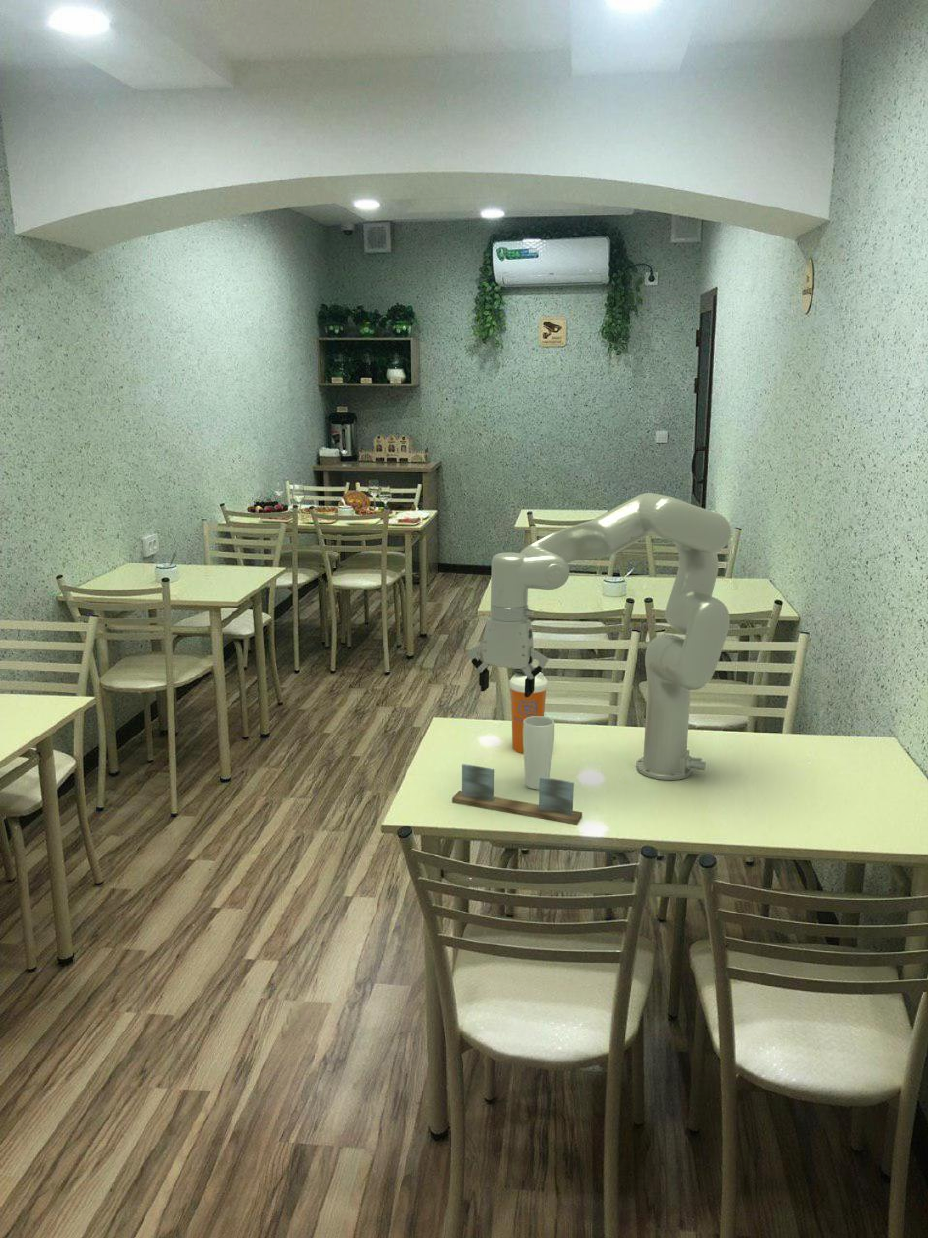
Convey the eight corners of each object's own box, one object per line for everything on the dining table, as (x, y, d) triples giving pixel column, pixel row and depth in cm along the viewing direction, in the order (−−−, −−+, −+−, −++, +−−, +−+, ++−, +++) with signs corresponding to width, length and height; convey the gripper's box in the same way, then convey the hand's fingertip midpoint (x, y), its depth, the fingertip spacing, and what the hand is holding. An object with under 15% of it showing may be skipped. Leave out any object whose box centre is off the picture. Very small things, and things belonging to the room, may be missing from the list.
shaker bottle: (506, 742, 231) (507, 664, 226) (541, 741, 232) (543, 663, 227) (511, 756, 222) (513, 675, 217) (548, 755, 223) (551, 674, 218)
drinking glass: (550, 793, 202) (552, 727, 198) (519, 790, 203) (521, 725, 200) (554, 780, 209) (556, 717, 205) (523, 778, 210) (525, 714, 206)
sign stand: (581, 816, 191) (583, 780, 189) (576, 825, 187) (578, 787, 186) (459, 795, 201) (459, 760, 199) (452, 802, 197) (452, 766, 195)
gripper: (554, 613, 193) (551, 692, 197) (475, 605, 199) (474, 682, 203) (544, 621, 186) (540, 703, 190) (462, 612, 192) (461, 692, 196)
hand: (506, 692), depth 197 cm, fingers open, 9 cm apart
